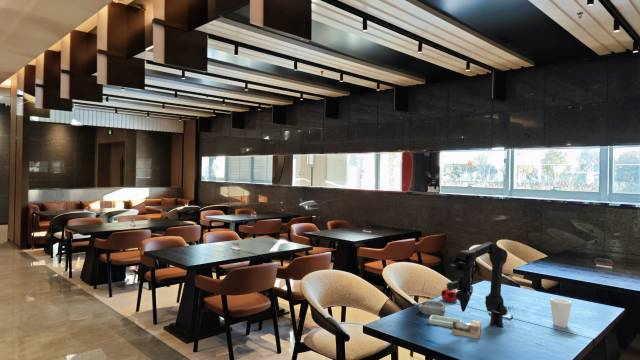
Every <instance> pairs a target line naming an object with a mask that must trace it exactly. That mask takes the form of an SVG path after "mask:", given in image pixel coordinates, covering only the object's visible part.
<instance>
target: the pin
mask: <svg viewBox="0 0 640 360" xmlns="http://www.w3.org/2000/svg"><path fill="white" fill-rule="evenodd" d="M470 324H471V323H468V322H463V321H462V322H456V321H453V328H455V329H461V330H466V331H470ZM453 328H452V329H453Z"/></svg>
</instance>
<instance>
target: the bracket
mask: <svg viewBox="0 0 640 360" xmlns="http://www.w3.org/2000/svg"><path fill="white" fill-rule="evenodd" d="M469 324H470V331H466V330H461V329H455V328H451V335H457V336H461V337H468V338H473V339H477V340H478V339H479V340H480V338H481V335H482V321H481V320H477V319H476V320H475V319H471V322H470V323H469Z"/></svg>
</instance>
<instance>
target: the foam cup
mask: <svg viewBox="0 0 640 360" xmlns="http://www.w3.org/2000/svg"><path fill="white" fill-rule="evenodd" d="M571 307H572V301H571V300H570V299H569V300H568V299H566V298H563V297H562V298H561V297H560V298H559V297H551V298H550V308H551V316H552V317H551V318H552V324H553V326H556V327H558V326H559V328H568V325H569V318H570V313H571Z"/></svg>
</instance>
